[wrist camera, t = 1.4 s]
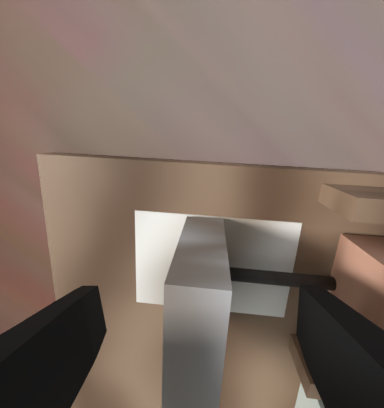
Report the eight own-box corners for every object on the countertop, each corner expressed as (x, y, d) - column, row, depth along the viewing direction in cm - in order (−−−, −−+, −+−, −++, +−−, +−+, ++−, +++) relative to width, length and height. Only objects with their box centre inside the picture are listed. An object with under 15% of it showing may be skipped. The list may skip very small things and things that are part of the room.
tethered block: (456, 236, 9) (707, 337, 5) (417, 335, 11) (579, 491, 6) (187, 216, 10) (164, 284, 5) (182, 310, 12) (161, 430, 7)
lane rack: (464, 176, 10) (598, 197, 7) (364, 443, 15) (410, 537, 11) (53, 152, 12) (-17, 158, 8) (82, 404, 16) (45, 477, 13)
